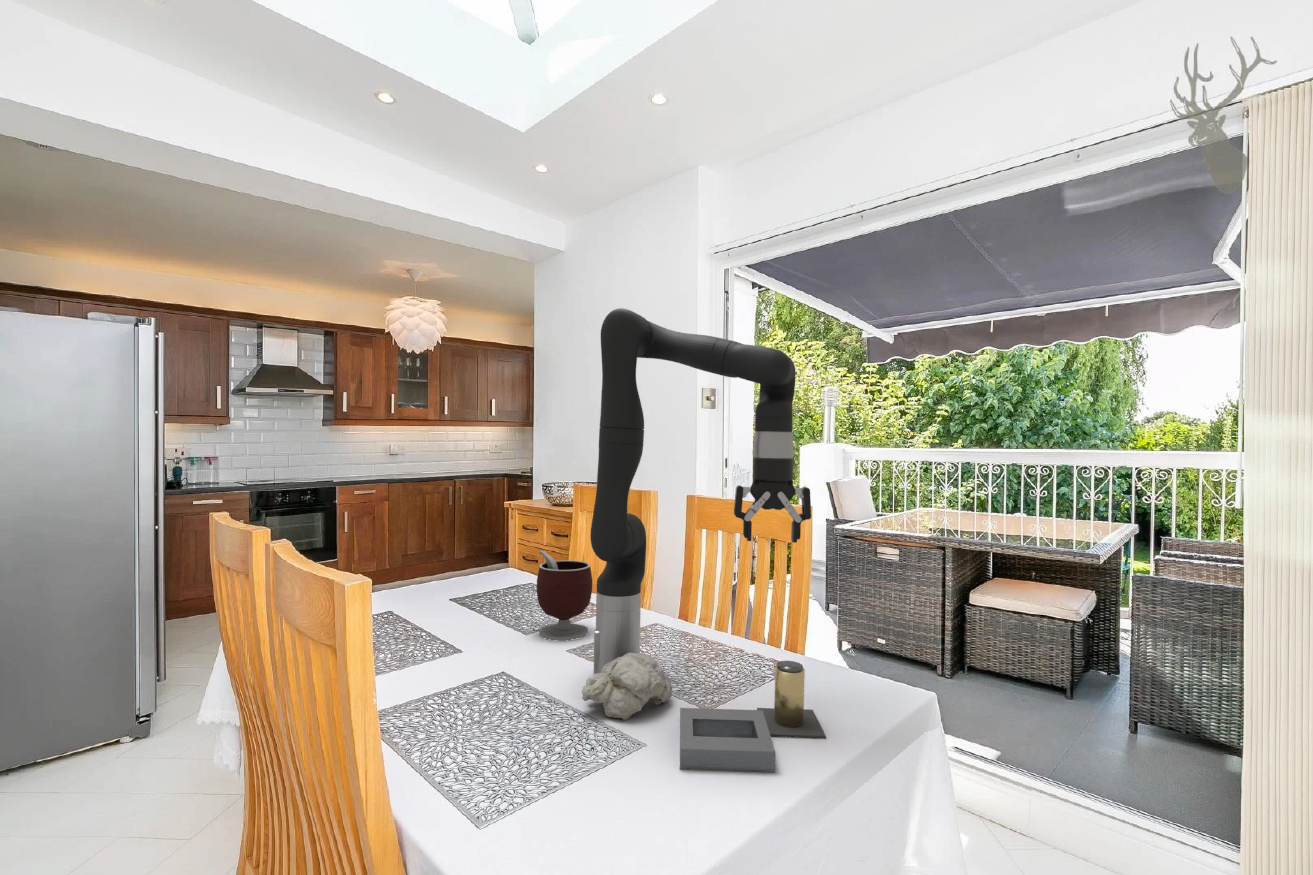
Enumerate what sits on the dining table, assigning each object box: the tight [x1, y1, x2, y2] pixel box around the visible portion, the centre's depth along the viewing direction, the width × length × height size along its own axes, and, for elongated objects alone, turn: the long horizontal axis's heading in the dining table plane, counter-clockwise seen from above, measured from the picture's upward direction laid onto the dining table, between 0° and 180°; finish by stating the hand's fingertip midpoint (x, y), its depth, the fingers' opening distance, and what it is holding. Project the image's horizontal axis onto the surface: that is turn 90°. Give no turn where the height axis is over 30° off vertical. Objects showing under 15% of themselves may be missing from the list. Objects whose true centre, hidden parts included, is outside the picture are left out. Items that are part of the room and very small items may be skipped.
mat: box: [756, 707, 827, 739], centre depth 105 cm, size 10×10×1 cm
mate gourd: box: [536, 550, 593, 642], centre depth 154 cm, size 16×14×20 cm
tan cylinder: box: [773, 660, 806, 728], centre depth 105 cm, size 5×5×10 cm
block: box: [679, 707, 776, 773], centre depth 97 cm, size 14×14×3 cm
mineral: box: [581, 652, 673, 721], centre depth 111 cm, size 12×17×10 cm
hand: (771, 541), depth 115 cm, fingers open, 8 cm apart
